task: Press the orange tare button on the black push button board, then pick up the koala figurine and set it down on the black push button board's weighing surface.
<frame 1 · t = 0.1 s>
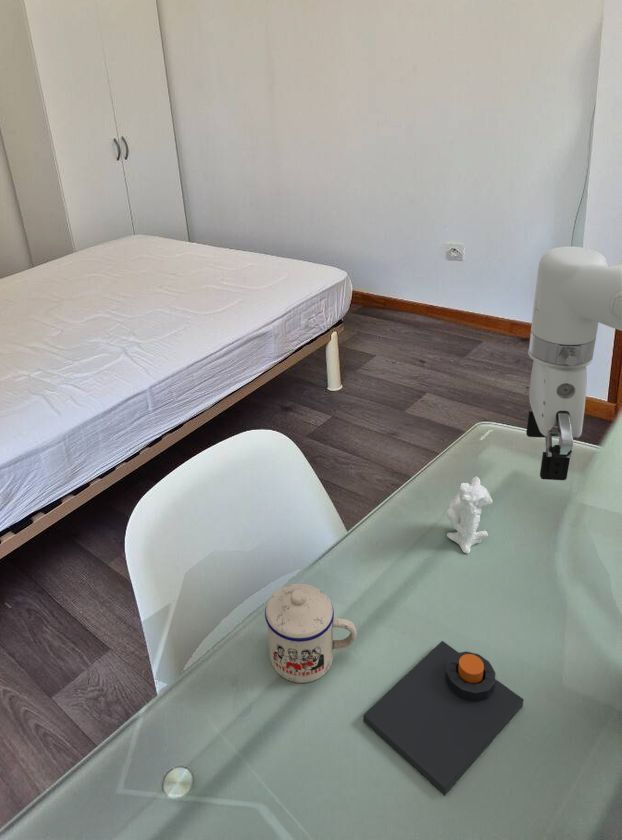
hand: (545, 456, 94), 22 cm above the table, tool pointing down, fingers open, 9 cm apart
teacup with lid: (312, 658, 94), on the table
black push button board: (443, 714, 85), on the table
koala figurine: (464, 540, 112), on the table
tare button: (470, 668, 87), point 4 cm above the table, slide at 0.1 cm
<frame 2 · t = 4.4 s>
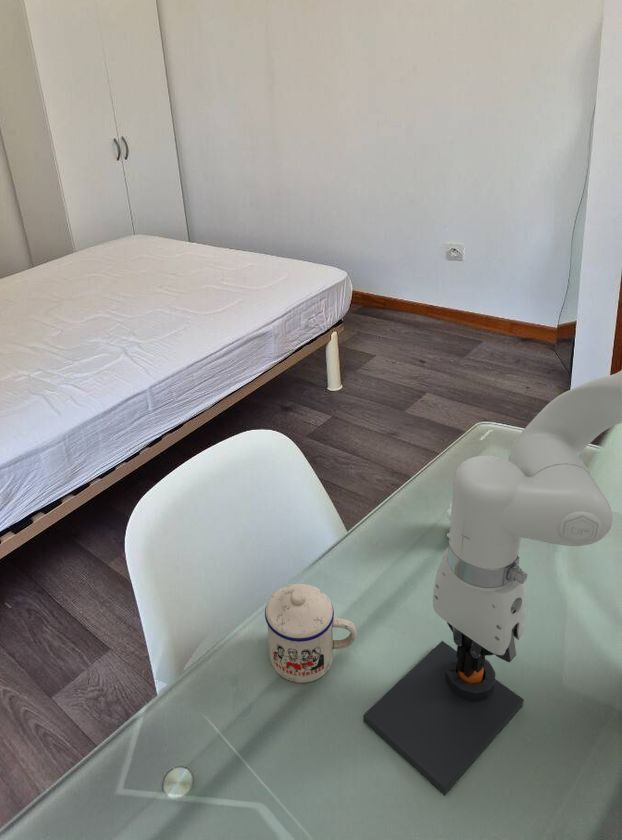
hand: (469, 667, 87), 4 cm above the table, tool pointing down, fingers closed
tare button: (470, 671, 87), point 3 cm above the table, slide at -0.5 cm, touching gripper
everything else where it was.
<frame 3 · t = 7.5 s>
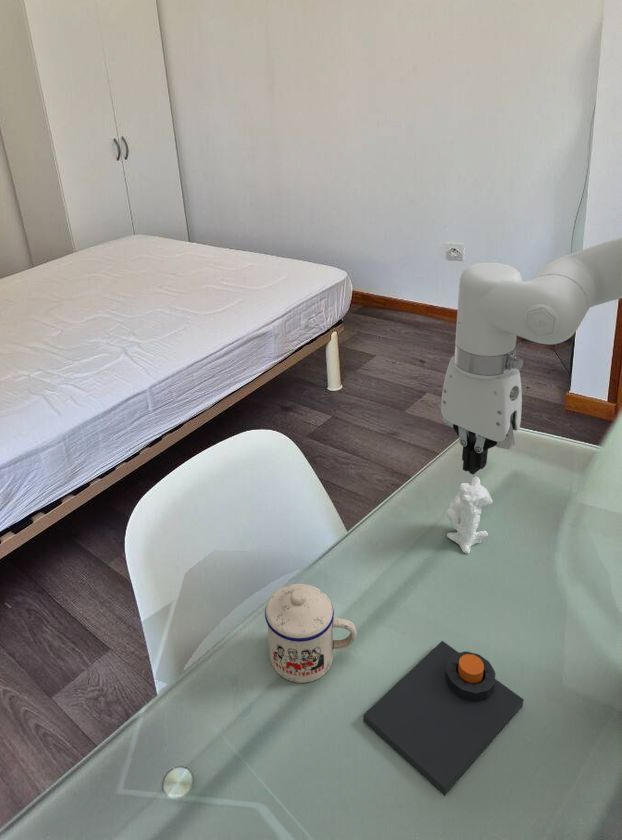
hand: (473, 468, 99), 18 cm above the table, tool pointing down, fingers closed
tare button: (470, 668, 87), point 3 cm above the table, slide at 0.1 cm
everything else where it was.
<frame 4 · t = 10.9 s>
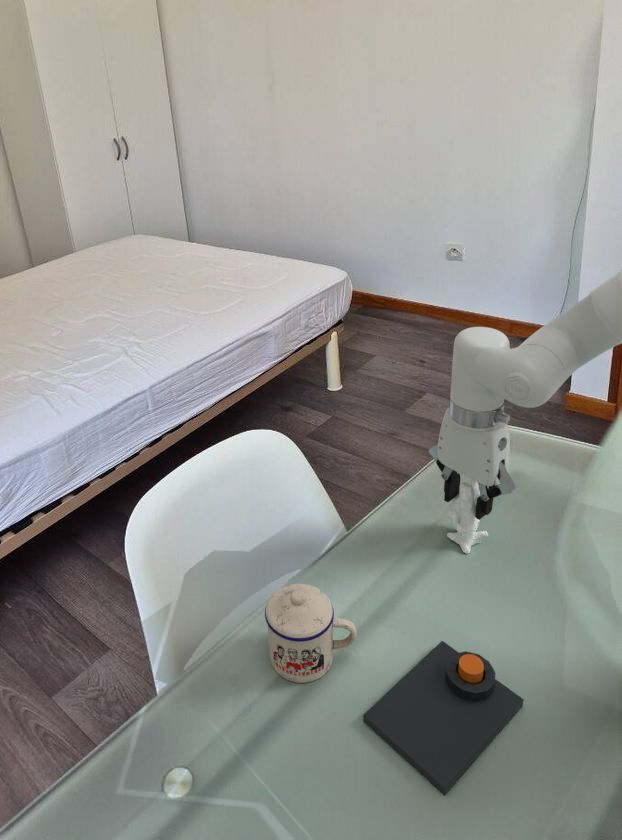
hand: (466, 505, 109), 7 cm above the table, tool pointing down, fingers closed on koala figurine, 5 cm apart
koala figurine: (464, 540, 112), on the table, touching gripper
everything else where it was.
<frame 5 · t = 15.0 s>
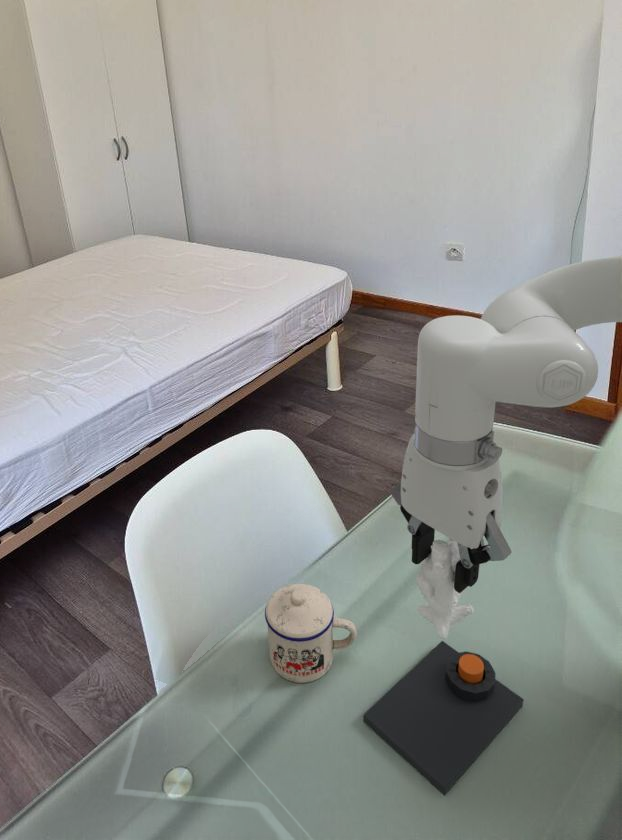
hand: (443, 569, 77), 22 cm above the table, tool pointing down, fingers closed on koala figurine, 5 cm apart
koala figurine: (441, 616, 80), point 15 cm above the table, touching gripper
everything else where it was.
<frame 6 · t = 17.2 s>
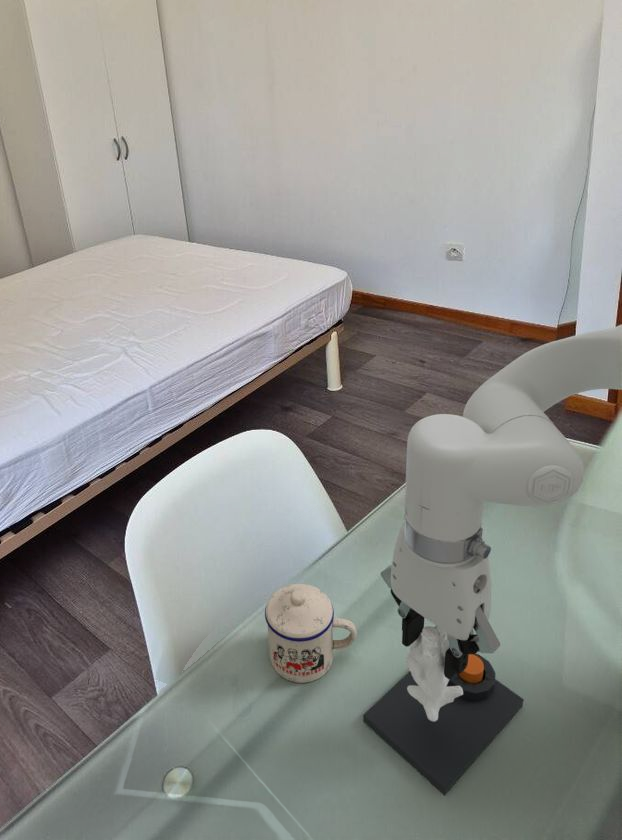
hand: (433, 653, 78), 13 cm above the table, tool pointing down, fingers closed on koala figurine, 5 cm apart
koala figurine: (431, 696, 81), point 6 cm above the table, touching gripper
everything else where it was.
when the fingers open (8 cm above the table, at t = 19.1 s): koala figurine stays where it is, resting on black push button board.
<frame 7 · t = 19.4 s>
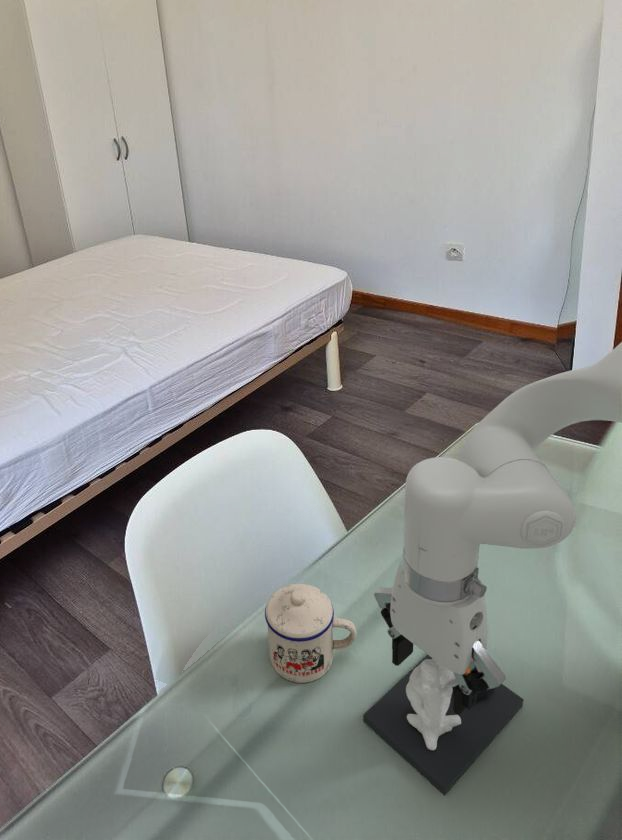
hand: (432, 680, 80), 9 cm above the table, tool pointing down, fingers open, 8 cm apart
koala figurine: (430, 724, 83), point 1 cm above the table, touching black push button board
everything else where it was.
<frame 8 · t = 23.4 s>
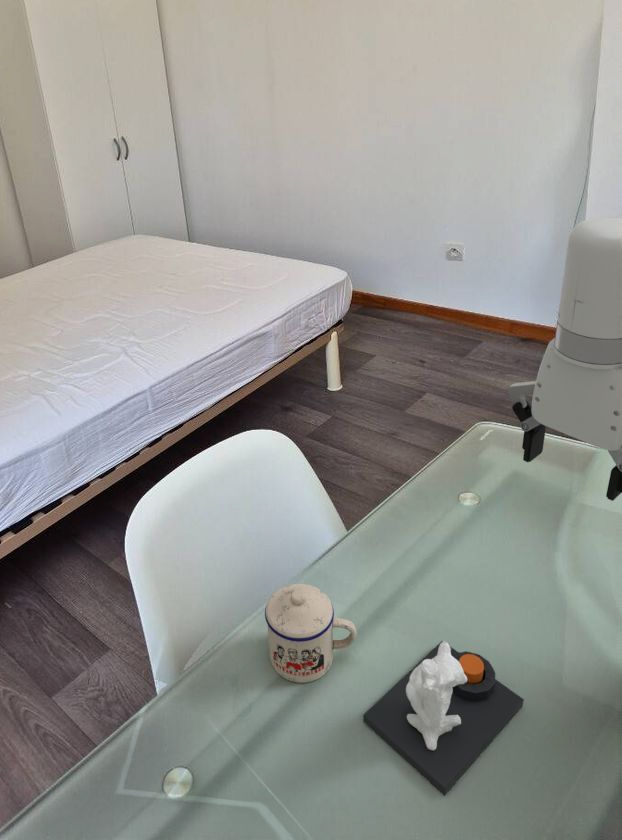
hand: (572, 474, 78), 30 cm above the table, tool pointing down, fingers open, 9 cm apart
nothing on the table moved.
at the end: tare button pushed in 0.9 cm at the most during the clip, back to where it started at the end; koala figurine inside the target area on the black push button board (0.7 cm from its centre), point 1.2 cm above the black push button board's base; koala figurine touching black push button board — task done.
